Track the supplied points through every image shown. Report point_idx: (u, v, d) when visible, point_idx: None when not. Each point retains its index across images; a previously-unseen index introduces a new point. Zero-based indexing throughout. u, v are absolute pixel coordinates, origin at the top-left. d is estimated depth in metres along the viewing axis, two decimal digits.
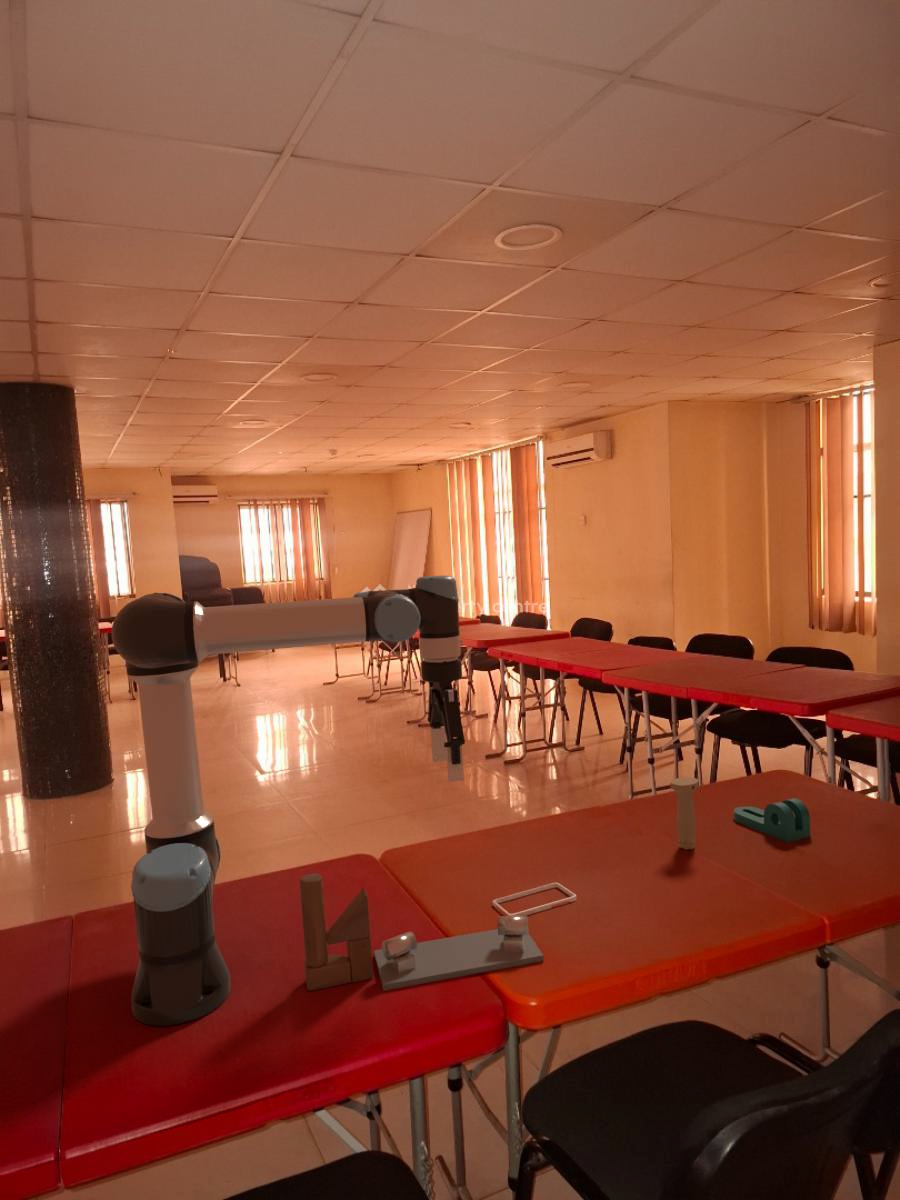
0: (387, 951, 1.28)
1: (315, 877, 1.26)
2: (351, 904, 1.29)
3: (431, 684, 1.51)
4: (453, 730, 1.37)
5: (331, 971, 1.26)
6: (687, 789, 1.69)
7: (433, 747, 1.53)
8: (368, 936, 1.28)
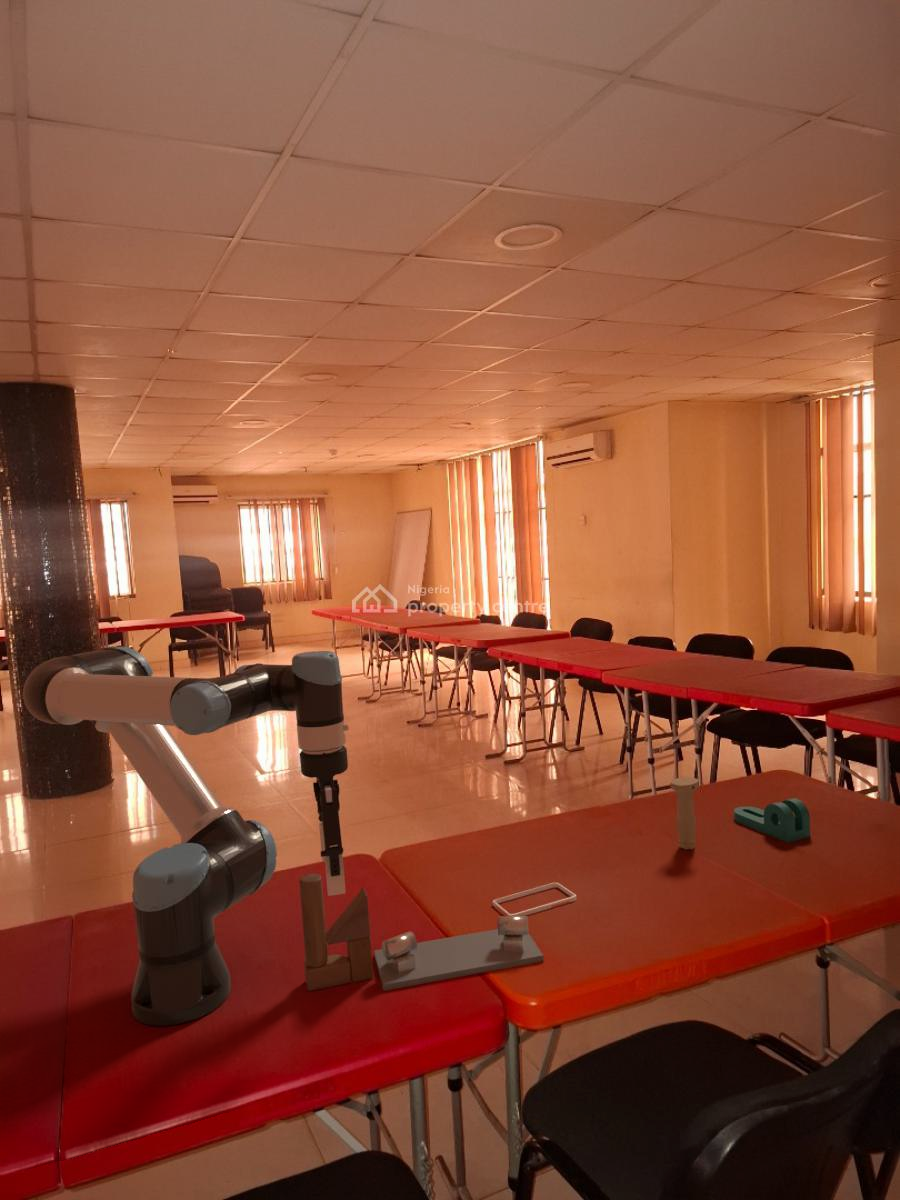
0: (387, 951, 1.28)
1: (315, 877, 1.27)
2: (351, 904, 1.29)
3: None
4: (329, 837, 1.18)
5: (331, 970, 1.27)
6: (687, 789, 1.69)
7: (322, 845, 1.33)
8: (368, 936, 1.28)
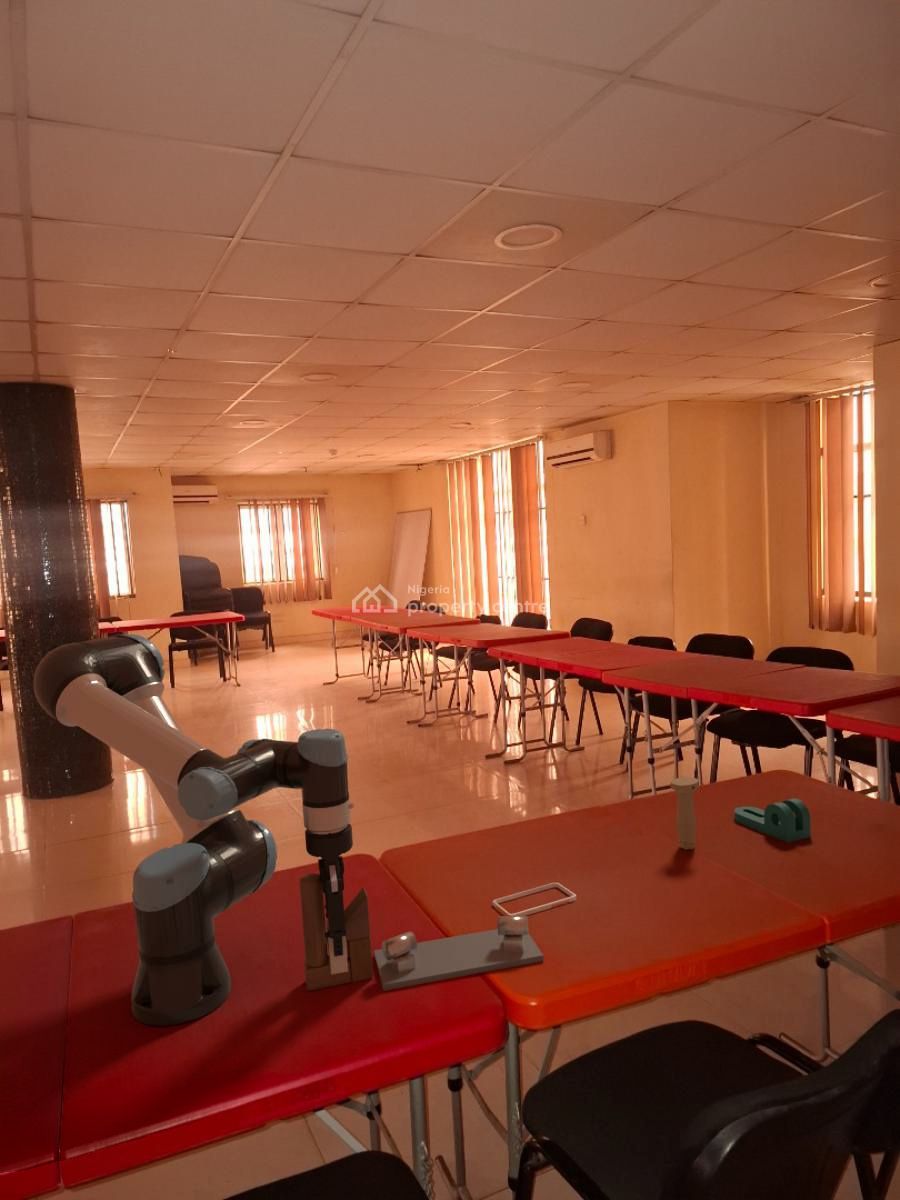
0: (387, 951, 1.28)
1: (315, 877, 1.27)
2: (351, 904, 1.30)
3: None
4: (334, 924, 1.22)
5: None
6: (687, 789, 1.69)
7: None
8: (368, 936, 1.28)
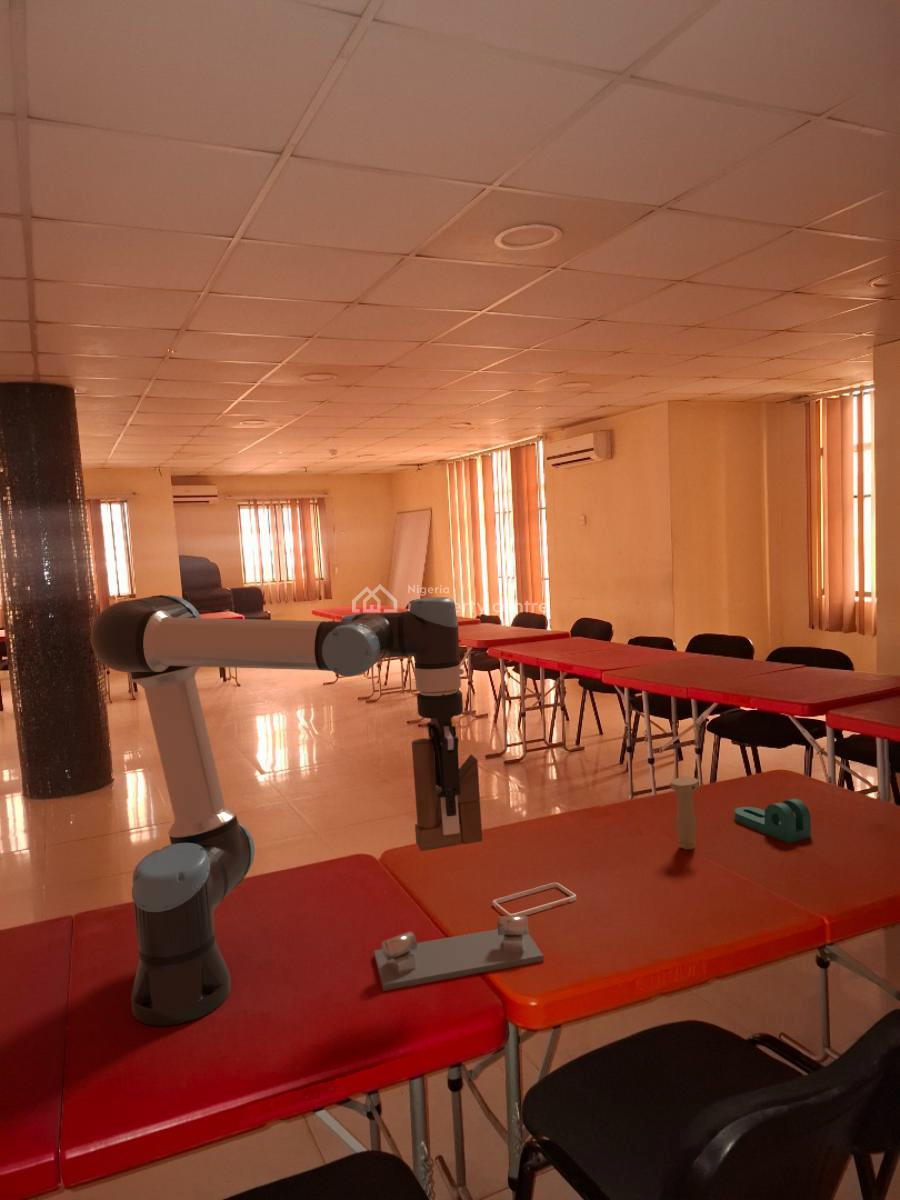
0: (387, 951, 1.28)
1: (427, 740, 1.29)
2: (460, 770, 1.32)
3: None
4: (449, 782, 1.25)
5: None
6: (687, 789, 1.69)
7: (438, 809, 1.33)
8: (478, 799, 1.30)
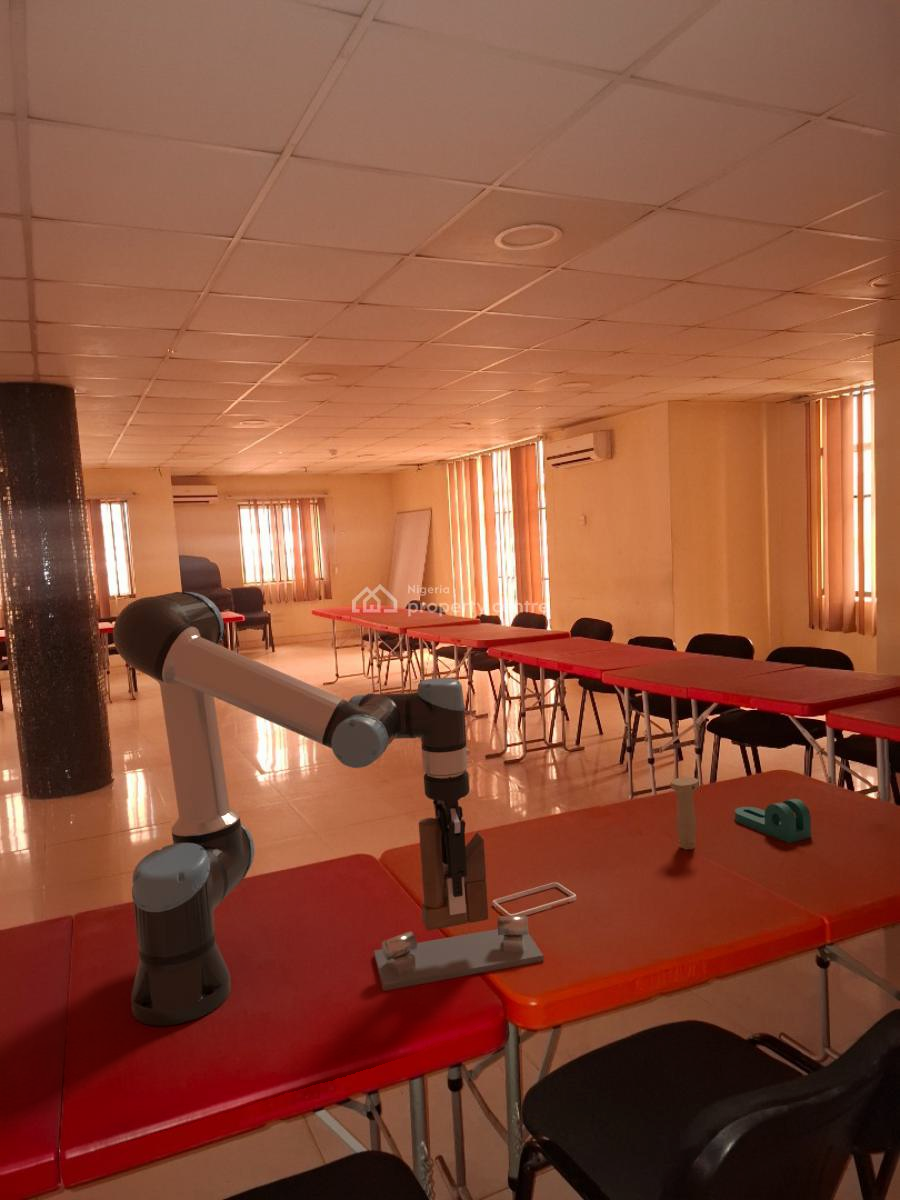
0: (387, 951, 1.28)
1: (433, 820, 1.30)
2: (466, 848, 1.33)
3: (436, 803, 1.36)
4: (456, 864, 1.26)
5: None
6: (687, 789, 1.69)
7: (444, 886, 1.34)
8: (484, 878, 1.32)
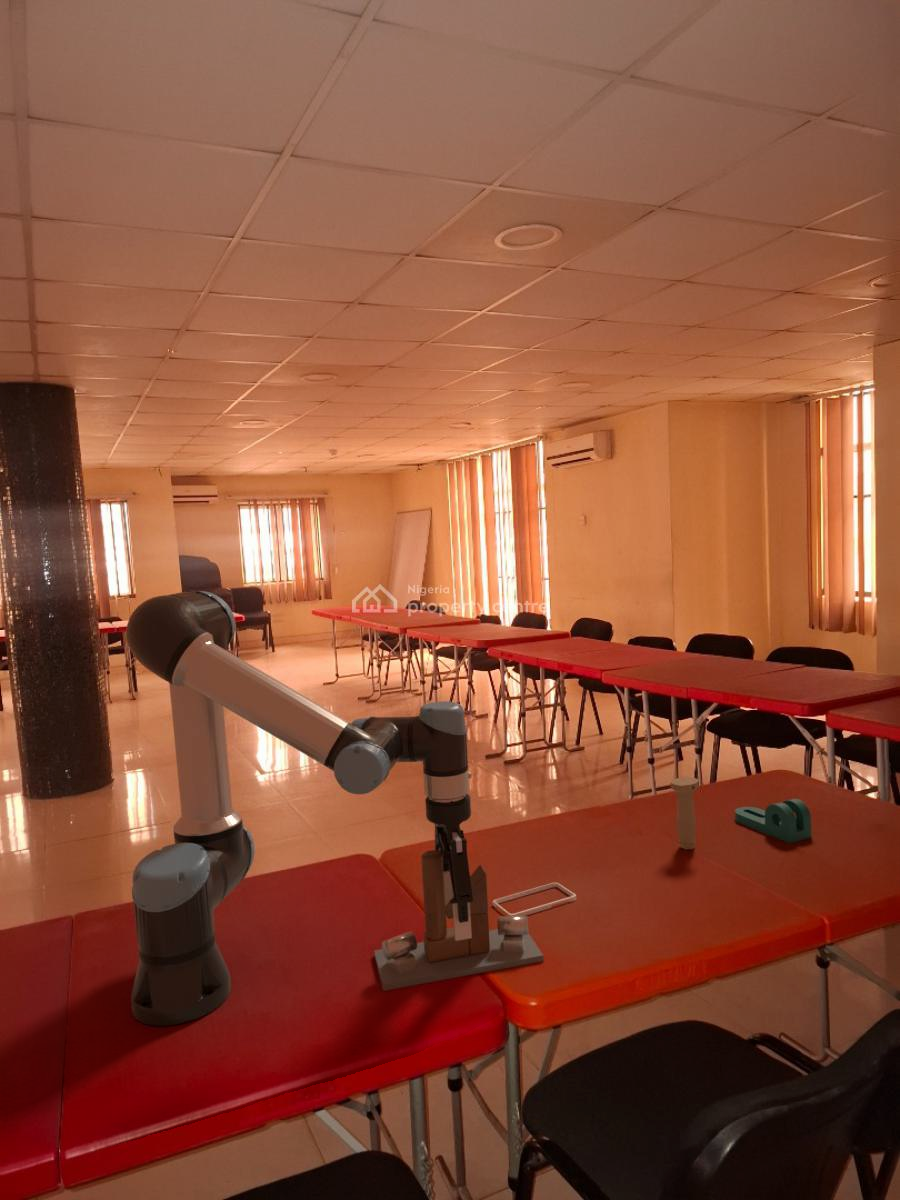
0: (387, 951, 1.28)
1: (436, 854, 1.30)
2: None
3: None
4: (460, 887, 1.24)
5: (451, 943, 1.31)
6: (687, 789, 1.69)
7: None
8: (486, 911, 1.32)
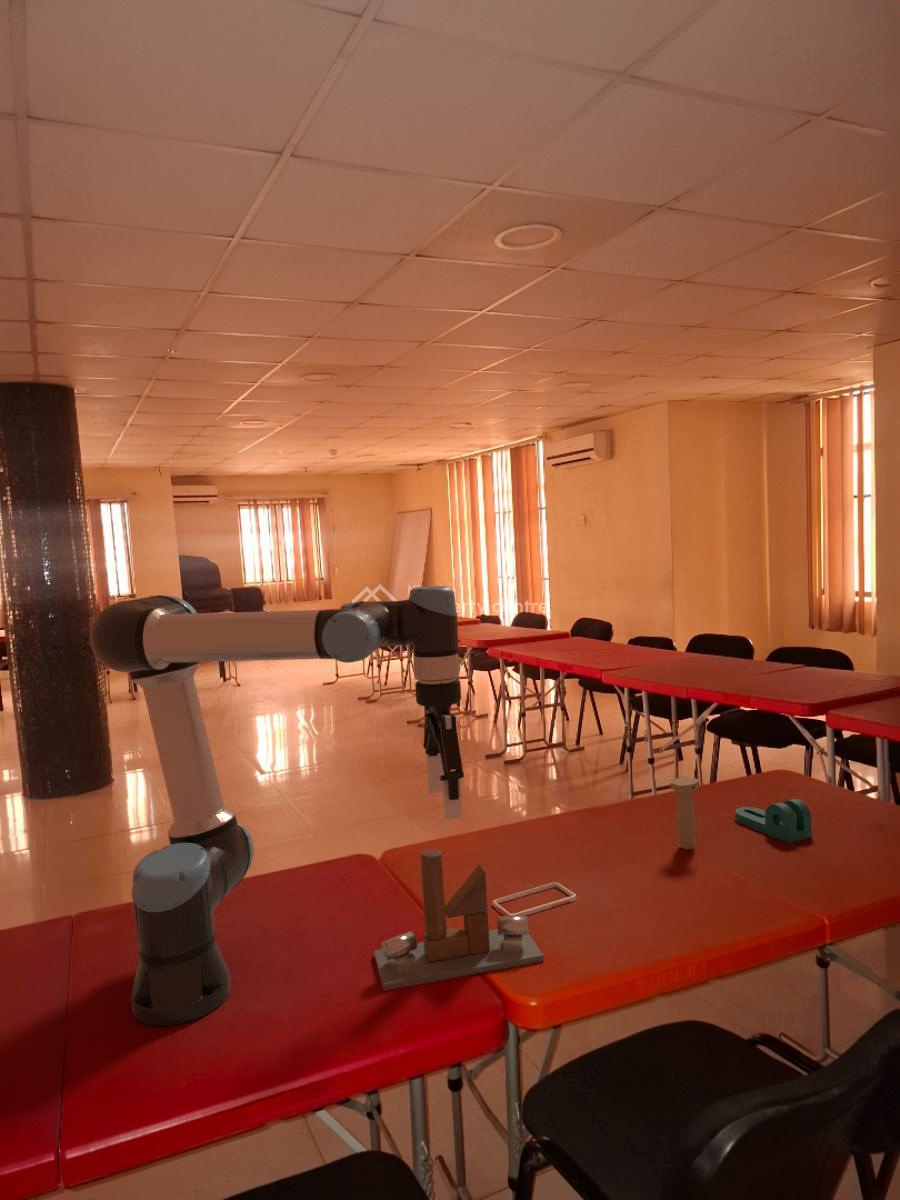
0: (387, 951, 1.28)
1: (435, 852, 1.31)
2: (468, 880, 1.34)
3: (427, 707, 1.35)
4: (450, 762, 1.22)
5: (451, 943, 1.31)
6: (687, 789, 1.69)
7: (429, 777, 1.37)
8: (485, 911, 1.32)
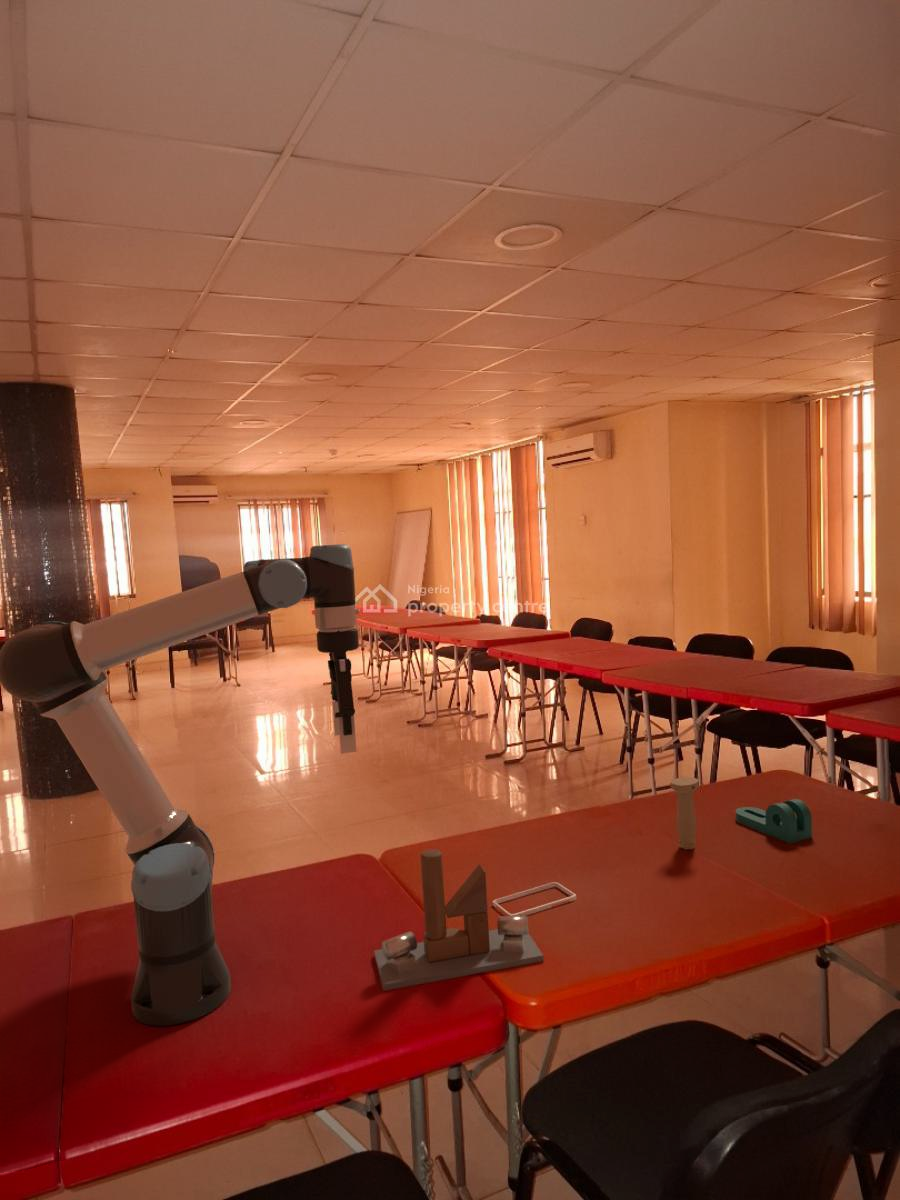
0: (387, 951, 1.28)
1: (435, 852, 1.31)
2: (468, 880, 1.34)
3: (331, 656, 1.49)
4: (343, 700, 1.35)
5: (451, 943, 1.31)
6: (687, 789, 1.69)
7: (334, 720, 1.50)
8: (485, 911, 1.32)
